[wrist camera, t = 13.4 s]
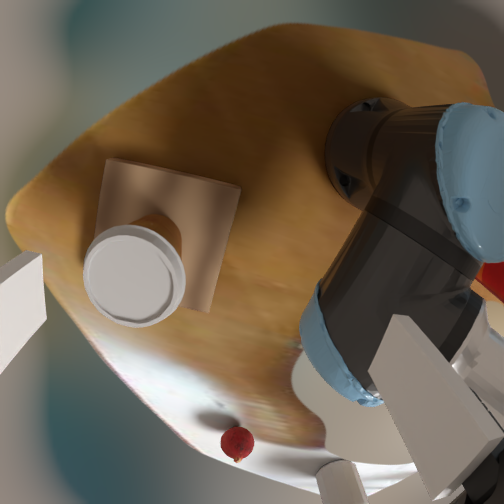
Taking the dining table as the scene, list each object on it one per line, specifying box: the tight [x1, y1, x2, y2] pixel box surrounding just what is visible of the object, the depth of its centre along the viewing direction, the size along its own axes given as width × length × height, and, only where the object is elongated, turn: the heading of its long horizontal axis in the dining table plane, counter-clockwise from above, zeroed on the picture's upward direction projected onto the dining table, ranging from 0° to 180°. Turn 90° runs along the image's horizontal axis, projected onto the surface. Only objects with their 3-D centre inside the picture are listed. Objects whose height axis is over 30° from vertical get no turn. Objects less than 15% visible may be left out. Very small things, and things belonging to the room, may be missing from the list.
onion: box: [221, 427, 254, 463], centre depth 49 cm, size 6×6×8 cm
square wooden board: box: [94, 157, 241, 313], centre depth 38 cm, size 16×16×3 cm
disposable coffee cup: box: [83, 214, 186, 327], centre depth 31 cm, size 10×10×12 cm
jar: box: [316, 460, 369, 504], centre depth 53 cm, size 10×10×18 cm
